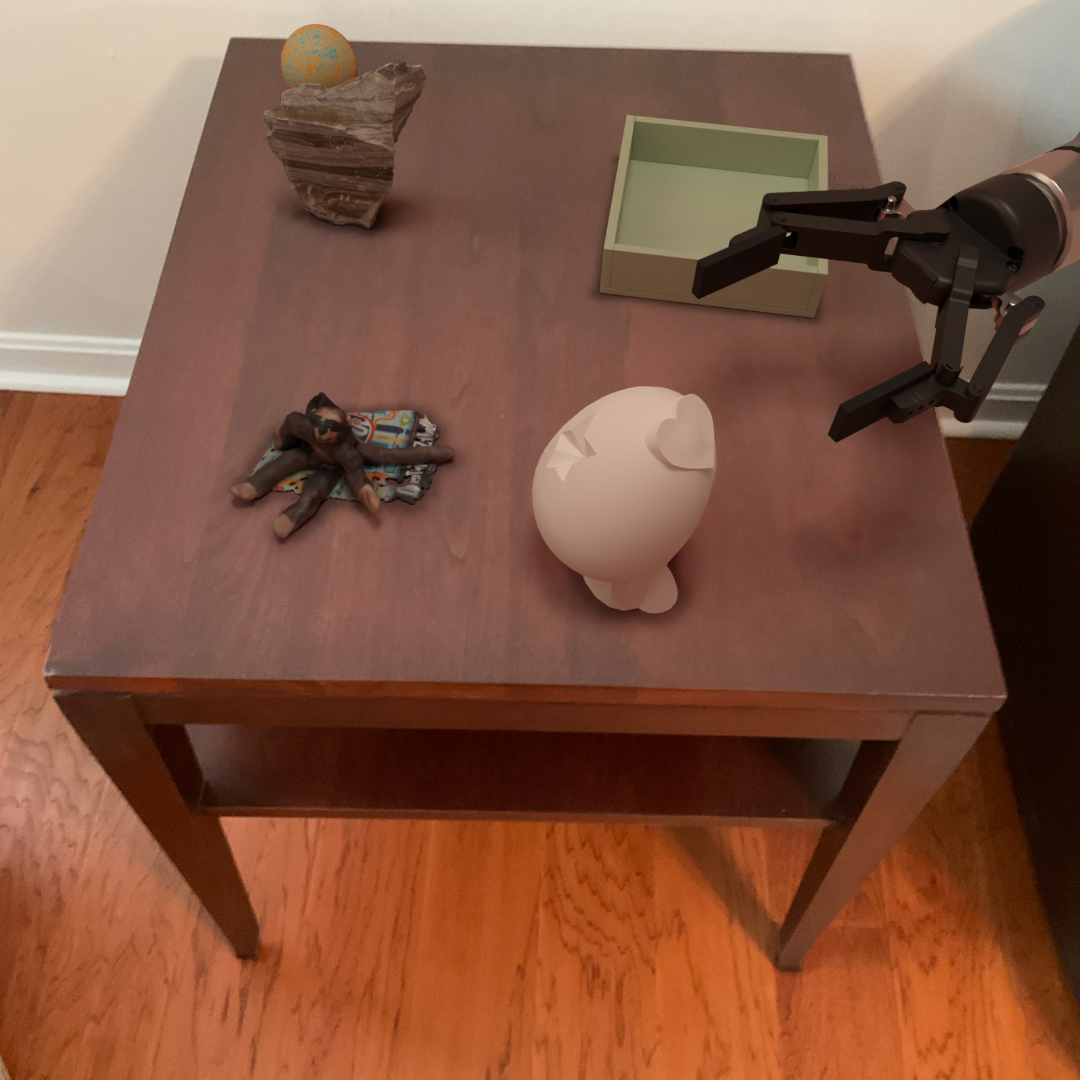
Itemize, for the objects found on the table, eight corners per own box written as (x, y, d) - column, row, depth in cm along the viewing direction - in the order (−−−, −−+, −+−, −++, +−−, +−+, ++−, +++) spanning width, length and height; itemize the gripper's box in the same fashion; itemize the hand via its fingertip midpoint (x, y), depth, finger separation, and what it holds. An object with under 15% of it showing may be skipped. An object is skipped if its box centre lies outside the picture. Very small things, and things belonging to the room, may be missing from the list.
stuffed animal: (202, 459, 73) (305, 329, 71) (293, 488, 82) (387, 373, 79) (286, 570, 68) (400, 433, 66) (373, 588, 77) (476, 468, 74)
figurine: (529, 617, 68) (530, 483, 55) (532, 479, 74) (534, 331, 62) (697, 621, 68) (736, 488, 55) (687, 483, 74) (720, 335, 62)
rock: (276, 214, 89) (237, 52, 77) (305, 174, 92) (271, 11, 80) (412, 247, 87) (394, 86, 75) (437, 204, 90) (424, 43, 78)
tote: (815, 180, 93) (828, 135, 89) (814, 318, 83) (828, 274, 79) (622, 160, 94) (626, 114, 90) (599, 293, 85) (603, 248, 81)
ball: (355, 124, 96) (344, 54, 91) (281, 120, 97) (266, 50, 91) (367, 80, 100) (357, 10, 94) (296, 76, 101) (282, 6, 95)
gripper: (1135, 388, 66) (884, 530, 59) (874, 171, 77) (641, 271, 71) (1200, 302, 59) (927, 451, 53) (906, 79, 71) (653, 180, 64)
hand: (763, 348), depth 62 cm, fingers open, 13 cm apart
